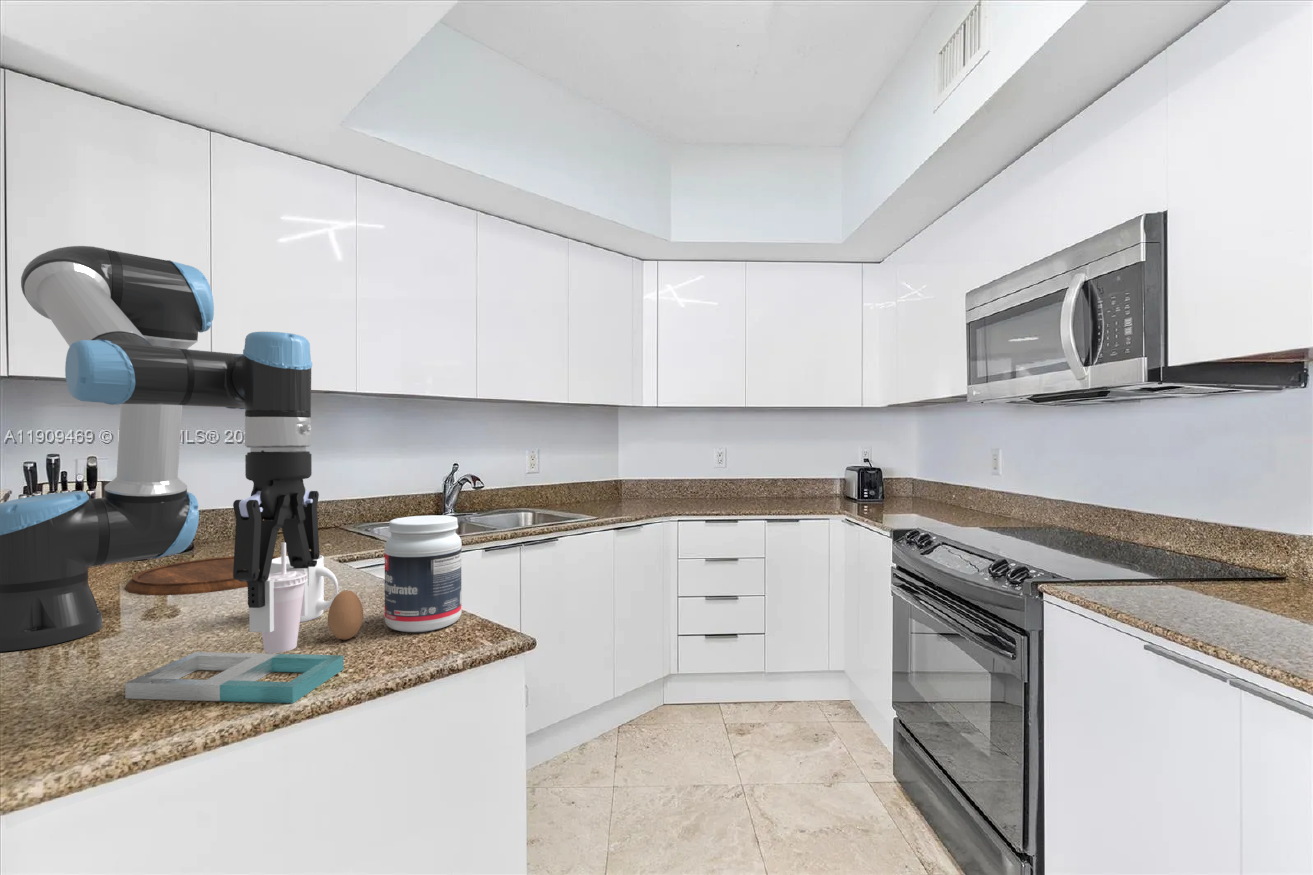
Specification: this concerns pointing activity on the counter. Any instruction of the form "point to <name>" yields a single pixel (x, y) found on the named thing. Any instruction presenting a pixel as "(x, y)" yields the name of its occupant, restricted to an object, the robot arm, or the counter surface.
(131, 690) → the rail
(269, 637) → the smoothie
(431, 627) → the supplement tub
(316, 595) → the mug
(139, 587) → the cutting board
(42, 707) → the counter surface
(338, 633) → the egg
